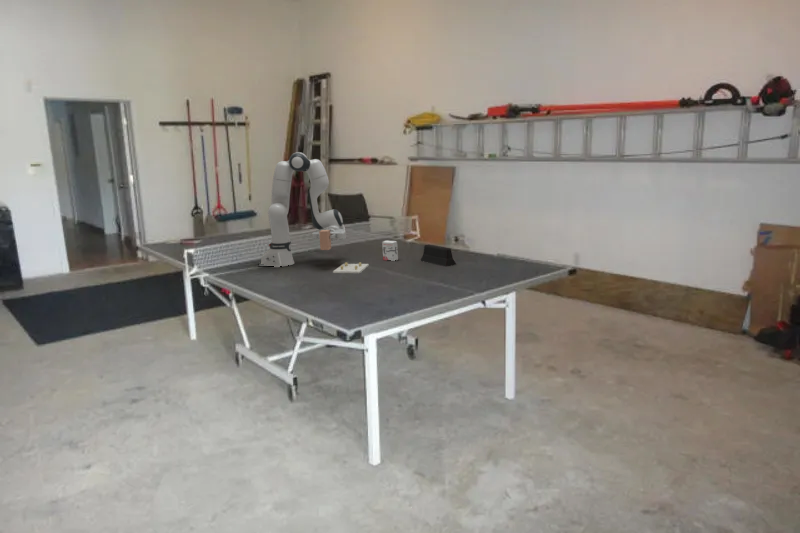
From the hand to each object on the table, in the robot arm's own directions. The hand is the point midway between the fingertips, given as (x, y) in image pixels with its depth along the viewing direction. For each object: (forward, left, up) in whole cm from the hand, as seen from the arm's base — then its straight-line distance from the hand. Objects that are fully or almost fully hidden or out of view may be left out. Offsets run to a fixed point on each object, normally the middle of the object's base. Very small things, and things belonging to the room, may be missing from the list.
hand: (324, 237), depth 333 cm
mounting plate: (+15, 0, -19) cm, 24 cm away
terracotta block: (0, 0, -7) cm, 7 cm away
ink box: (+33, +26, -19) cm, 46 cm away
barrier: (+64, +20, -20) cm, 69 cm away
